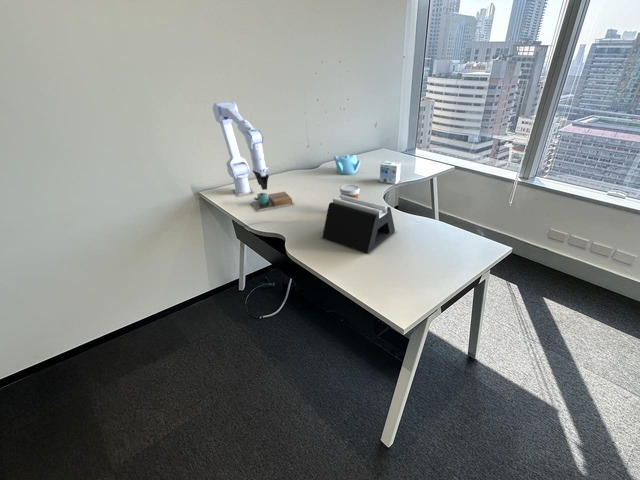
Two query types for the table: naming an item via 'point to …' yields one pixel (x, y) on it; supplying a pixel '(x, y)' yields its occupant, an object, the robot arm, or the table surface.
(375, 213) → the device stand
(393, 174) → the light bulb box
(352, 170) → the teapot
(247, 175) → the robot arm
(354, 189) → the disposable coffee cup
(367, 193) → the table surface
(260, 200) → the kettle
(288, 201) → the tier stand
